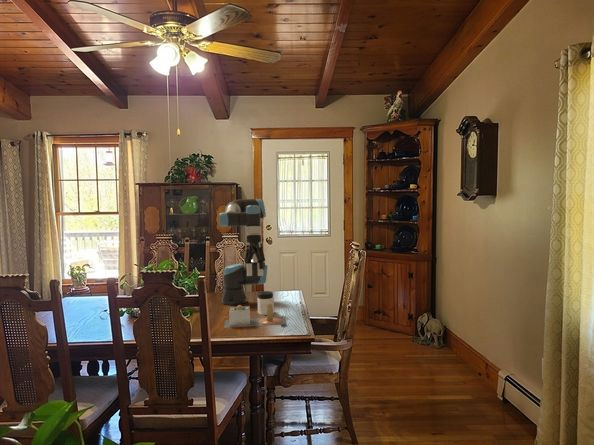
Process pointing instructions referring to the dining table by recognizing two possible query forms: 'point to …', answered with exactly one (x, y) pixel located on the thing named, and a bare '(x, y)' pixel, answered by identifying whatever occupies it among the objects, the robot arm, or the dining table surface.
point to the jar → (264, 301)
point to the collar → (239, 316)
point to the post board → (261, 319)
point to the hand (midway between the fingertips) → (254, 275)
